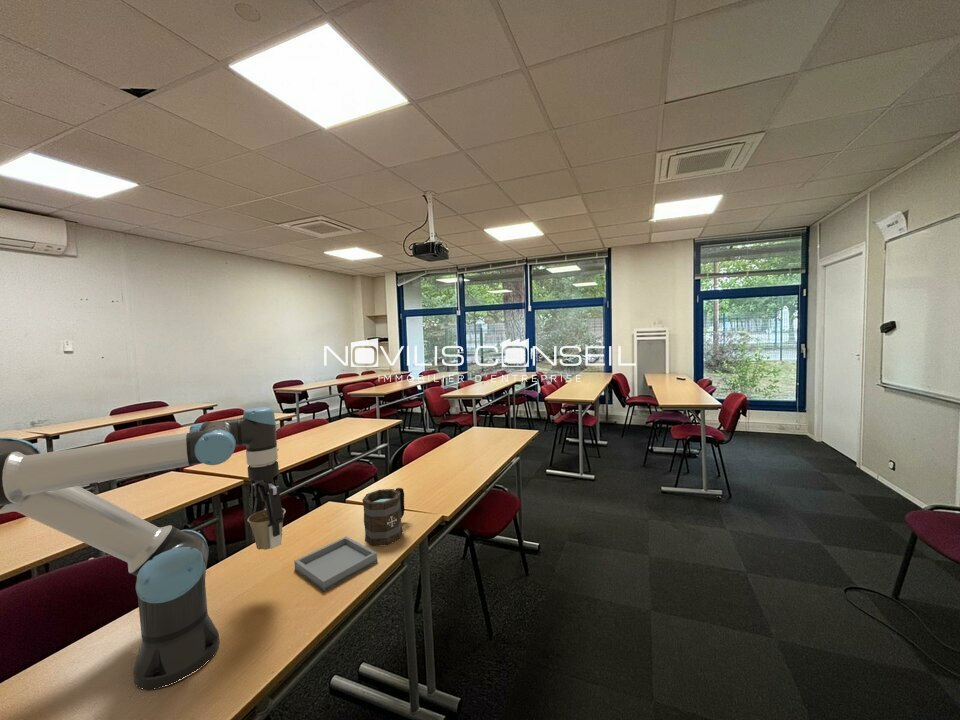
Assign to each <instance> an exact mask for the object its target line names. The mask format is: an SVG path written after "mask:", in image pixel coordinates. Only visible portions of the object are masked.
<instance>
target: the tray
mask: <svg viewBox="0 0 960 720" xmlns="http://www.w3.org/2000/svg"><path fill="white" fill-rule="evenodd" d="M293 562H294V571H295V572H297V573H298V574H299V575H300V576H302V577H304V578H305V579H306V580H308V581H309V582H310V583H312V584H313V585H314V586H315V587H316V588H318V589H319V590H321V591H322V592H324V593H326V592H327V591H329V590H330V589H332V588H334V587H336V586H337V585H339V584H341V583H343V582H345V581H347V580H348V579H350V578H352V577H354V576H355V575H357V574H359V573H361V572H362V571H364V570H365V568H366V569H367V568H370V567H371V566H373V565H374V564H376V563H378V552H377V551H374V550H373V549H370V548H369V547H367V546H365V545H363V544H362V543H360V542H358V541H356V540H354V539H352V538H350V537H348V536H344V537H342V538H340V539H338V540H336V541H333V542H331V543H329V544H327V545H325V546H322V547H321V548H318V549H316V550H315V551H312V552H310V553H307V554H305V555H304V556H302V557H300V558H297V559H296V560H293ZM375 562H376V563H375ZM372 564H373V565H372ZM370 565H371V566H370ZM358 572H359V573H358Z"/></svg>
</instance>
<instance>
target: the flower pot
mask: <svg viewBox="0 0 960 720" xmlns="http://www.w3.org/2000/svg"><path fill="white" fill-rule="evenodd" d="M282 512H283V518H284V519H285V514H286V509H285V508H283V507H282ZM246 520H247V523H249V526H250V527H251V531H252V534H253V540H254V542H255V546H256V549H258V550H264V551H265V550H266V551H267V550H271V548H270V540H269V527H268V526H267V525H268V524H270V522H269V518H268V514H267V510H266V509H265V510H262V511H259V512H256V513H252V514H251V515H250V516H248V518H247V519H246ZM280 530H281V541H282V538H283V536H282V535H283V522H281V523H280Z"/></svg>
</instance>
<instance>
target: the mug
mask: <svg viewBox="0 0 960 720" xmlns="http://www.w3.org/2000/svg"><path fill="white" fill-rule="evenodd" d="M361 501H362V505H363V524H364V542H366V543H367V544H368V545H370V546H371V547H380V545H387V546H389V545H391V544H393V543H395V541H396V542H398V541H400V540H399V539H401V538H400V537H402V535H403V533H404V531H403V527H402V526H403V525H402V518H403V517H404V515H405V492H404V488H402V487H396V489H394V488H388V489H386V488H385V489H378V490H373V491H371V492H368V493H366V494H365V495H364V496H363V498H362V500H361ZM402 532H403V533H402ZM397 540H398V541H397ZM392 542H393V543H392ZM388 544H389V545H388Z"/></svg>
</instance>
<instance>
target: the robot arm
mask: <svg viewBox="0 0 960 720" xmlns="http://www.w3.org/2000/svg"><path fill="white" fill-rule="evenodd" d="M275 416H276V415H275V411H274V409H273V408H271V407H267V406H264V407H261V406H260V407H254V408H248V409H245V410H244V411H243V415H242V417H237V418H232V419H231V418H230V419H222V420H213V421H204V422H199V423H194V424H191V425H190V427H189V432H186V433H185V432H184V433H177V434H176V433H175V434H171V435H165V436H164V435H163V436H155V437H148V438H140V439H133V440H127V441H121V442H113V443H107V444H99V445H92V446H84V447H77V448H70V449H62V450H57V451H55V450H54V451H49V452H43V453H42V452H41V451H40V450H39V448H38V447H37V446H36V445H34V444H33V443H32V442H30V441H28V440H25V439H22V438H17V437H8V436H7V437H0V515H1V514H7V513H11V512H16V513H18V514H21V515H23V516H25V517H27V518H30V519H31V520H34V521H36V522H37V523H41V524H42V525H44V526H47V527H49V528H51V529H53V530H55V531H58V532H60V533H62V534H64V535H67V536H69V537H71V538H73V539H75V540H78V541H80V542H82V543H84V544H86V545H89V546H90V547H93V548H95V549H97V550H99V551H101V552H104V553H106V554H108V555H109V556H112V557H114V558H117V559H119V560H121V561H123V562H126V563H127V569H128V574H131V575H133V576H135V577H136V582H135V591H136V595H137V601H138V602H137V603H138V613H139V621H140V622H139V624H140V625H139V626H140V631H141V632H140V633H141V643H140V647H139V650H138V654H137V657H136V661H135V664H134V667H133V681H134V684H136V685H137V686H138V687H140V688H143V689H142V690H144V689H154V688H159V687H162V686H165V685H169V684H171V683H174V682H176V681H178V680H179V679H182V678H183V677H185V676H187V675H189V674H191V673H192V672H194V671H196V670H197V669H199V668H200V667H201V666H203V665H204V664H205V663H206V662H207V661H208V660H210V659H211V658H212V659H213V658H214V656H215V655H216V653H217V652H218V650H219V647H220V635H219V631H218V629H217V627H216V626H215V624H214V622H213V621H212V620H213V619H211V617H210V615H209V612H208V604H207V603H208V602H207V601H208V600H207V590H206V574H207V573H206V572H207V566H208V559H209V553H210V551H209V546H208V542H207V539H206V538H205V537H204V535H202V534H201V533H199V532H198V531H196V530H192V529H182V530H181V529H179V528H177V527H175V526H173V525H170V524H169V525H166V526H162V527H158V526H157V525H155V524H153V523H151V522H149V521H147V520H145V519H143V518H141V517H140V516H137V515H135V514H134V513H132V512H129V511H128V510H126V509H124V508H122V507H120V506H118V505H116V504H114V503H112V502H111V501H108V500H106V499H105V498H102V497H100V496H99V495H97V494H94V493H93V492H91V491H90V490H87V489H85V488H84V487H81V486H84V485H89V484H97V483H101V482H102V483H103V482H107V481H112V480H117V479H122V478H123V479H124V478H128V477H133V476H140V475H145V474H151V473H155V472H161V471H167V470H173V469H178V468H184V467H188V466H189V467H190V466H195V465H200V464H201V465H202V464H204V465H207V466H218V465H220V464H223V463H225V462H227V461H228V460H229V459H230V458H231V457H232V455H233V453H234V451H235V449H236V447H240V446H245V447H246V448H245V449H246V450H245V454H246V458H245V459H246V464H247V465H248V466H247V477H248V480H250V512H253V513H252V514H254V513H256V512H259V511H262V510H265V509H266V510H267V514H268V518H269V522H270V524H268V525H267V526H268V527H269V540H270V550H272V549H274V548H276V547H279V546H281V545H282V540H281V530H280V523H281V522H285V517H284V518H283V512H282V508H283V507H282V500H281V494H280V493H281V492H280V491H281V490H280V485H276V484H275V482H274V478H275V477H277V476H278V475H279V473H280V470H279V467H280V466H279V462H278V457H279V456H278V451H279V447H278V445H277V443H278V441H277V427H276V425H277V422H276V418H275ZM214 654H215V655H214ZM213 655H214V656H213ZM212 659H211V660H212ZM211 660H210V661H211ZM204 666H205V665H204ZM204 666H203V667H204ZM136 685H135V686H136ZM137 686H136V687H137ZM138 687H137V688H138ZM140 688H139V689H140ZM154 690H155V689H154Z"/></svg>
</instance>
